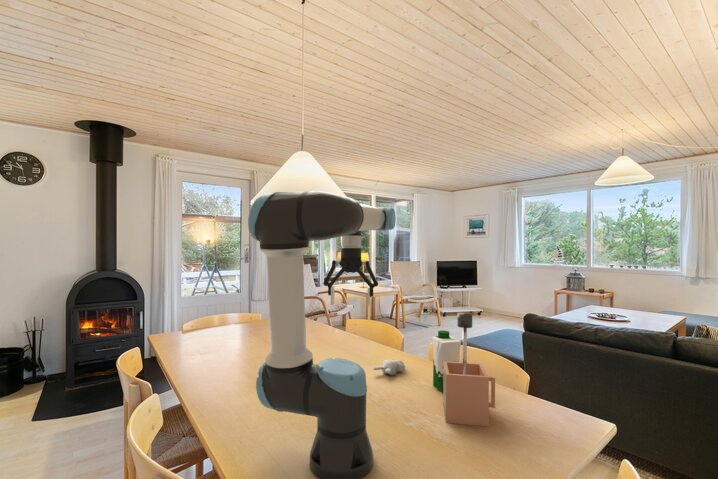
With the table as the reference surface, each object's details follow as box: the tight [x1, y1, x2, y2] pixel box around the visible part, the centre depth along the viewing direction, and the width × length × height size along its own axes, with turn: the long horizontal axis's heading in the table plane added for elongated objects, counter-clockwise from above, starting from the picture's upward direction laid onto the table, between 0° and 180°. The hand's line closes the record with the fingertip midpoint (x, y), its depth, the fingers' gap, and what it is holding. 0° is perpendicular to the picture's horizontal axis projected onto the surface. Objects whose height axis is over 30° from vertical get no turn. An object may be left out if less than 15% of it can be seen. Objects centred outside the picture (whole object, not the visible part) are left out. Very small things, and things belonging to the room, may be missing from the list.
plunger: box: [456, 311, 473, 375], centre depth 110 cm, size 9×9×22 cm
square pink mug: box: [442, 361, 496, 427], centre depth 110 cm, size 12×15×14 cm
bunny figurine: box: [372, 359, 406, 376], centre depth 145 cm, size 10×5×15 cm
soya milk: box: [431, 330, 463, 394], centre depth 130 cm, size 9×9×20 cm
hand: (350, 305), depth 133 cm, fingers open, 13 cm apart
